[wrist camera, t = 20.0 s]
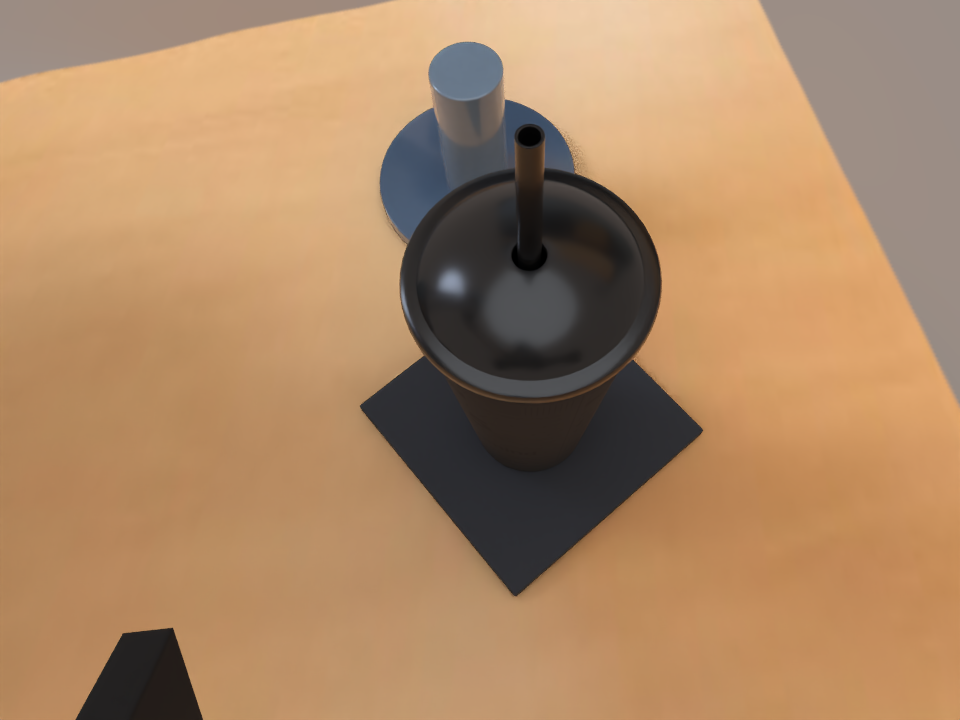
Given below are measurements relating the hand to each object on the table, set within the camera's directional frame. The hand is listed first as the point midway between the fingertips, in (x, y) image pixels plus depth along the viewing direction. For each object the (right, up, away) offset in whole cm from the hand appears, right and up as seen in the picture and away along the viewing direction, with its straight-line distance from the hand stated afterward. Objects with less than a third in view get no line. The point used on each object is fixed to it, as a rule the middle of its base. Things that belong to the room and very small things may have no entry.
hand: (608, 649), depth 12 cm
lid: (-2, +14, +29) cm, 32 cm away
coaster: (0, +2, +24) cm, 24 cm away
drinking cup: (0, +2, +24) cm, 24 cm away
